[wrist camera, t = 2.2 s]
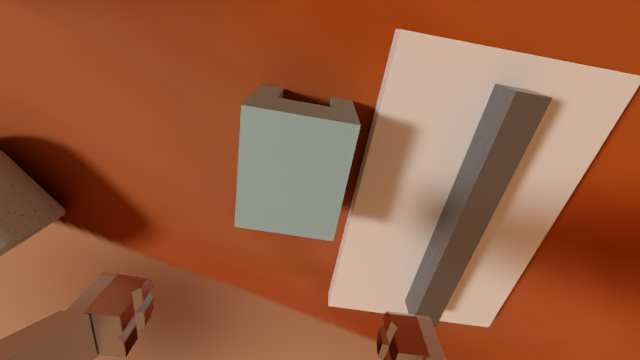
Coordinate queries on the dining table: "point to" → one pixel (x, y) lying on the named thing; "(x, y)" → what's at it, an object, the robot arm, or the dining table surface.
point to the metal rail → (475, 195)
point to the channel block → (293, 163)
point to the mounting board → (446, 159)
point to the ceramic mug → (22, 205)
